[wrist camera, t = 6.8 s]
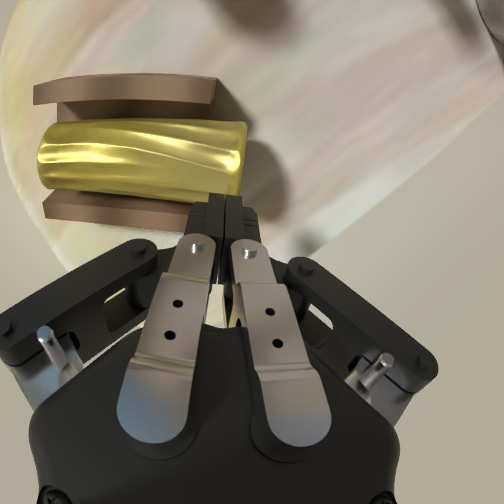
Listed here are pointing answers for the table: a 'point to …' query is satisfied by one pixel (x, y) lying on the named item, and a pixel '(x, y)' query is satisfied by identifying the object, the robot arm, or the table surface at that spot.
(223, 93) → the table surface
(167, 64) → the table surface
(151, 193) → the vase
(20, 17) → the table surface
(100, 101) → the u rest
